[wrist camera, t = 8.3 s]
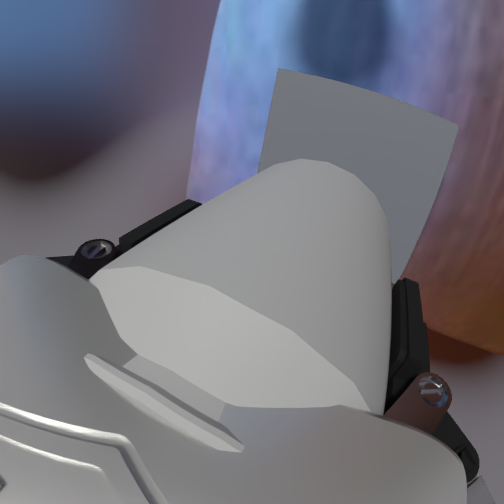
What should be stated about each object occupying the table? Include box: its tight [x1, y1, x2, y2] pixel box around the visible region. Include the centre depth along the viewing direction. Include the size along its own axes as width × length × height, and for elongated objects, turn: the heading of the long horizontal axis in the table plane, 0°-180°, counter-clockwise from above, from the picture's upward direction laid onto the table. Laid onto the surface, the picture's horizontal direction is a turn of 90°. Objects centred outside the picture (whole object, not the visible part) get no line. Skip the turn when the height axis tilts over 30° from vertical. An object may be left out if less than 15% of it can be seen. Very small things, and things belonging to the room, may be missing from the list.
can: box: [84, 159, 392, 453], centre depth 9 cm, size 8×8×12 cm
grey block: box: [257, 68, 459, 284], centre depth 26 cm, size 16×16×5 cm
